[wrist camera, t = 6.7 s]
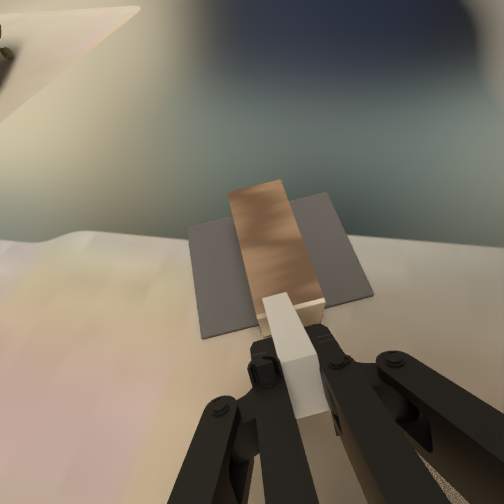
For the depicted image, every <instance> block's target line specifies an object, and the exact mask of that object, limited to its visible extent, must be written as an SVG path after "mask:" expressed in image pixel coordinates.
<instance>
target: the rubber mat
mask: <svg viewBox="0 0 504 504" xmlns="http://www.w3.org/2000/svg"><path fill="white" fill-rule="evenodd" d="M289 204H290V207H291V209H292V212H293V215H294V218H295V220H296V223H297V226H298V228H299V231H300V234H301V237H302V239H303V242H304V245H305V247H306V250H307V253H308V255H309V258H310V261H311V264H312V266H313V269H314V272H315V274H316V277H317V280H318V283H319V285H320V288H321V291H322V293H323V296H324V299H325V301H326V303H325V306H324V308H328V307H332V306H336V305H340V304H344V303H348V302H352V301H355V300H359V299H363V298H367V297H371V296H373V295H374V293H373V291H372V289H371V286H370V284H369V282H368V280H367V278H366V276H365V273H364V271H363V269H362V267H361V265H360V263H359V261H358V258H357V256H356V254H355V252H354V250H353V248H352V245H351V243H350V241H349V239H348V237H347V235H346V233H345V231H344V228H343V226H342V224H341V222H340V220H339V218H338V216H337V213H336V211H335V209H334V207H333V205H332V202H331V201H330V198H329V196H328V194H327V192H324V193H320V194H316V195H312V196H308V197H304V198H300V199H296V200H292V201H289ZM187 232H188V240H189V247H190V255H191V262H192V270H193V278H194V285H195V293H196V300H197V308H198V315H199V323H200V330H201V338H202V339H207V338H211V337H215V336H218V335H222V334H226V333H230V332H234V331H238V330H242V329H246V328H250V327H254V326H258V325H259V323H258V320H257V316H256V312H255V307H254V303H253V299H252V295H251V290H250V286H249V282H248V278H247V274H246V269H245V265H244V261H243V257H242V252H241V248H240V244H239V240H238V235H237V231H236V227H235V223H234V218H233V216H229V217H225V218H221V219H217V220H213V221H209V222H205V223H201V224H197V225H193V226H189V227H187Z"/></svg>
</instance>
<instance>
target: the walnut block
mask: <svg viewBox="0 0 504 504" xmlns="http://www.w3.org/2000/svg"><path fill="white" fill-rule="evenodd" d="M228 197H229V201H230V205H231V210H232V213H233V218H234V223H235V227H236V231H237V235H238V240H239V244H240V248H241V252H242V257H243V261H244V265H245V269H246V274H247V278H248V282H249V286H250V290H251V295H252V299H253V303H254V307H255V312H256V316H257V320H258V323H259V326H260V328H261V331H262V334H263V337H265V336H269V335H272V334H271V330H270V327H269V323H268V319H267V315H266V311H265V308H264V304H263V300H262V298H265V297H269V296H273V295H276V294H280V293H284V292H287V294H288V296H289V299H290V301H291V303H292V305H293V307H294V309H295V311H296V313H297V315H298V317H299V319H300V321H301V323H302V325H303V327H304V326H308V325H312V324H316V323H320V322H321V318H322V314H323V310H324V306H325V303H326V301H325V299H324V296H323V293H322V291H321V288H320V285H319V283H318V280H317V277H316V274H315V272H314V269H313V266H312V264H311V261H310V258H309V255H308V253H307V250H306V247H305V245H304V242H303V239H302V237H301V234H300V231H299V228H298V226H297V223H296V220H295V218H294V215H293V212H292V209H291V207H290V204H289V201H288V199H287V196H286V193H285V191H284V188H283V185H282V182H281V180H280V179H279V180H276V181H272V182H268V183H264V184H260V185H256V186H252V187H248V188H244V189H240V190H236V191H232V192H228Z"/></svg>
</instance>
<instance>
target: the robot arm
mask: <svg viewBox="0 0 504 504" xmlns="http://www.w3.org/2000/svg"><path fill="white" fill-rule="evenodd" d="M262 300H263V304H264V308H265V311H266V315H267V319H268V323H269V327H270V330H271V334H272V337H271V338H267V339H263V340H259V341H256V342H253V344H252V346H251V348H250V352H251V360H252V361H251V362H250V363H249V364H248V368H247V369H248V373H249V376H250V380H251V383H252V389H251V390H250V391H249V392H248V393H247V394H246V395H245V396H243V397H242V398H240V399H238V400H235V398H233V397H231V396H220V397H217V398H215V399H214V400H212V401H211V402H210V403H209V404H207V406H206V407H205V409H204V411H203V414H202V416H201V419H200V421H199V424H198V426H197V429H196V431H195V434H194V436H193V439H192V441H191V444H190V447H189V449H188V452H187V454H186V457H185V459H184V462H183V464H182V467H181V469H180V472H179V474H178V477H177V479H176V482H175V484H174V487H173V490H172V492H171V495H170V497H169V500H168V502H167V504H247V503H248V496H249V490H250V484H251V478H252V472H253V465H254V456H256V455H257V454H259V453H260V459H261V468H262V477H263V486H264V495H265V504H319V501H318V497H317V494H316V490H315V486H314V483H313V479H312V476H311V472H310V468H309V465H308V461H307V458H306V454H305V450H304V447H303V443H302V439H301V436H300V432H299V429H298V425H297V421H296V419H300V418H303V417H307V416H311V415H315V414H318V413H322V412H326V411H329V407H330V409H331V413H332V417H333V422H334V426H335V431H336V435H337V436H339V435H340V438H341V440H342V443H343V445H344V447H345V450H346V452H347V454H348V457H349V459H350V462H351V464H352V466H353V469H354V471H355V473H356V476H357V478H358V480H359V483H360V485H361V488H362V490H363V492H364V495H365V497H366V499H367V502H368V504H451V503H450V501H449V500H448V498H447V497H446V495H445V494H444V492H443V491H442V489H441V488H440V486H439V485H438V483H437V482H436V480H435V479H434V478H433V476H432V475H431V473H430V472H429V470H428V469H427V467H426V466H425V464H424V463H423V461H422V460H421V458H420V457H419V455H418V454H417V452H418V453H419V454H420V455H421V456H422V457H423V458H424V459H425V460H426V461H427V462H428V463H429V464H430V465H431V466H432V467H433V468H434V469H435V470H436V471H437V472H438V473H439V474H440V475H441V476H442V477H443V478H444V479H445V480H446V481H447V482H448V483H449V484H450V485H452V486H453V487H454V488H455V489H456V490H457V491H458V492H459V493H460V494H461V495H462V496H463V497H464V498H465V499H466V500H467V501H468V502H469V503H470V504H504V414H503V413H501V412H500V411H498V410H497V409H495V408H493V407H492V406H490V405H489V404H487V403H485V402H484V401H482V400H481V399H479V398H477V397H476V396H474V395H473V394H471V393H469V392H468V391H466V390H465V389H463V388H461V387H460V386H458V385H457V384H455V383H453V382H452V381H450V380H449V379H447V378H445V377H444V376H442V375H441V374H439V373H437V372H436V371H434V370H433V369H431V368H429V367H428V366H426V365H425V364H423V363H421V362H420V361H418V360H417V359H415V358H413V357H412V356H410V355H409V354H406V353H404V352H401V351H386V352H383V353H381V354H380V355H378V356H377V358H376V363H359V362H355V361H354V359H353V358H351V357H350V356H348V355H346V354H344V352H343V351H342V349H341V348H340V346H339V344H338V343H337V341H336V340H335V339H334V337H333V335H332V334H331V332H330V331H329V329H328V328H327V327H326V326H324V325H322V324H317V325H313V326H310V327H306V328H304V327H303V325H302V323H301V321H300V319H299V317H298V315H297V313H296V311H295V309H294V307H293V305H292V303H291V301H290V299H289V296H288V294H287V292H284V293H280V294H276V295H273V296H269V297H265V298H262ZM328 404H329V406H328ZM415 450H416V451H417V452H416V451H415Z"/></svg>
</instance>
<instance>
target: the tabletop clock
mask: <svg viewBox="0 0 504 504" xmlns="http://www.w3.org/2000/svg"><path fill="white" fill-rule="evenodd" d="M0 38H1V25H0ZM0 52H1V54H2V55H3V56H4V57H5V58H8V59H10V58H12V57H13V53H12V51H11V50H10V49H9V48H6V47H4V48H0Z"/></svg>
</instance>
